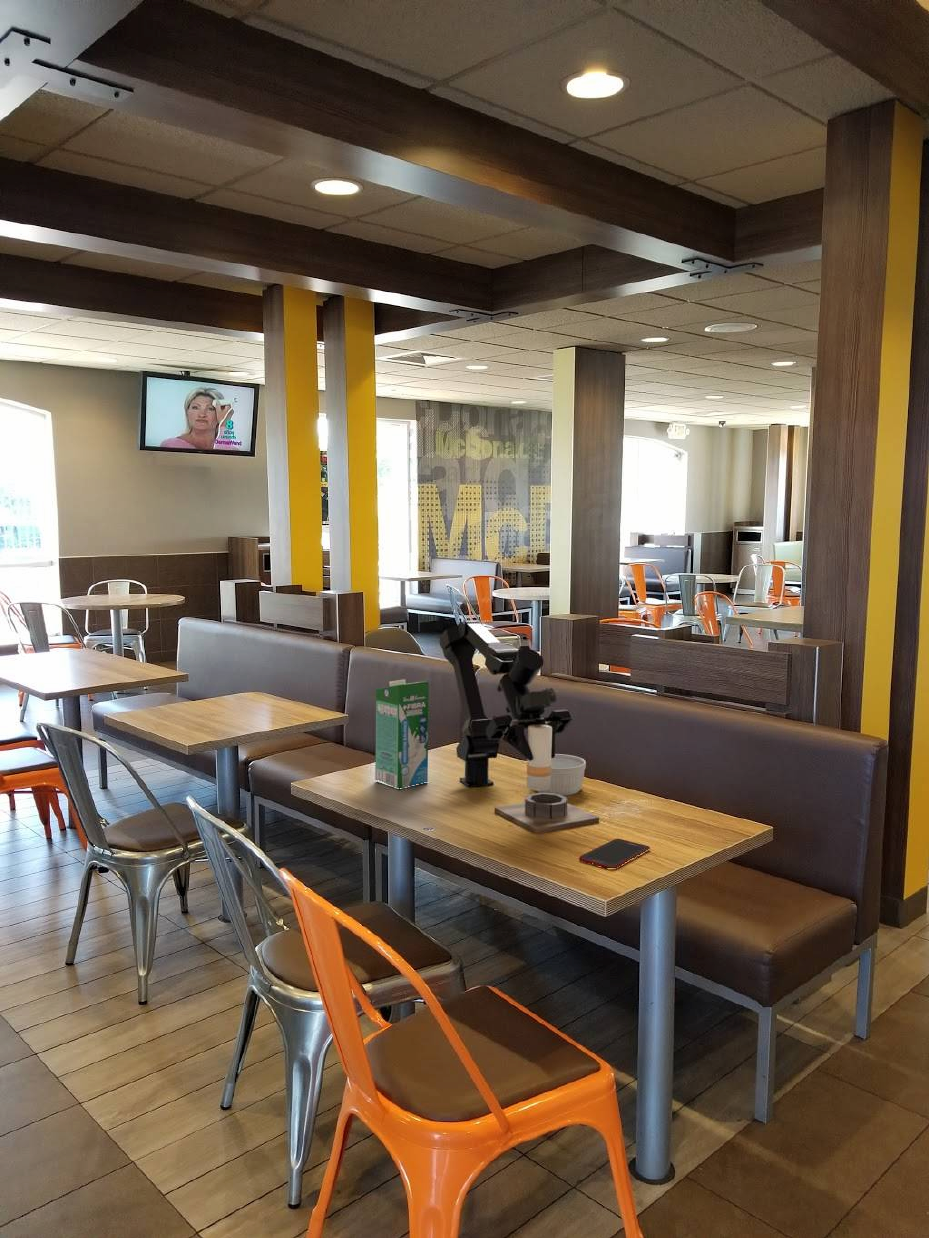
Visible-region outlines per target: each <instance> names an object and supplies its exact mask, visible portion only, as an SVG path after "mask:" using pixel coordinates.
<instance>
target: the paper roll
mask: <svg viewBox="0 0 929 1238" xmlns="http://www.w3.org/2000/svg"><path fill="white" fill-rule="evenodd" d="M527 742H528V745H529V747H530V750H531V752H532V756H533V759H532V761H529V760H528V759H527V758H526V759H527V763H526V788H527V789H528V790H531V791H536V792H538V791H545V790H549V789H550V785H551V750H552V727H551V726H548V725H539V724H538V725H530V726H528V729H527Z"/></svg>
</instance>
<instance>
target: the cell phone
mask: <svg viewBox="0 0 929 1238" xmlns="http://www.w3.org/2000/svg"><path fill="white" fill-rule="evenodd" d="M648 849H650V850H651V847H650V846H649V845H646V844H641V843H637V842H635V841H631V840H626V839H622V838H615V839H612V840H610V841H608V842H606V843H604V844H601V845H600V846H598V847H596V848H594V849H592V850H590V851H588V852H586V853H584V854H582V855H580V856H579V858H578V861H579V860H580V861H583V862H586V863H585V864H588V863H590V864H592V863H593V864H596V865H598V866H601V867H603V868H617V867H619V866H621V865H622V864H624V863H625V862H627V861H628V860H630V859H632V858H635V857H636V856H637V855H640V854H641V853H643V852H645V851H646V850H648ZM580 861H579V862H580ZM583 862H582V863H583ZM590 864H589V865H590ZM596 865H595V866H596ZM601 867H600V868H601ZM621 867H622V866H621Z"/></svg>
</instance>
